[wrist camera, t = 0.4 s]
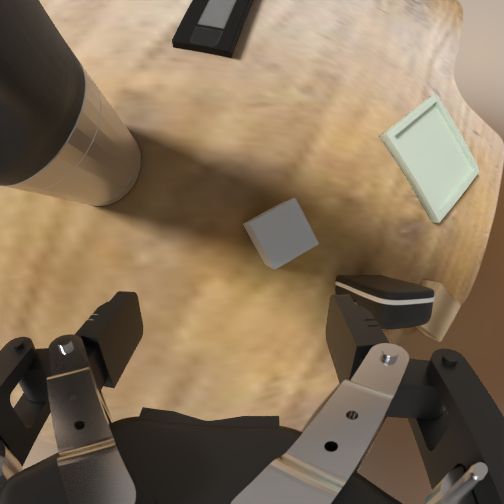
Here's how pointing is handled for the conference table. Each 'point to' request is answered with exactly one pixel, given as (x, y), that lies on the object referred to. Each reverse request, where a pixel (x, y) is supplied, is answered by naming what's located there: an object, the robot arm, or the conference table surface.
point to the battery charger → (389, 299)
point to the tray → (432, 156)
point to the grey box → (281, 233)
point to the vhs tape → (212, 26)
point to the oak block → (439, 311)
